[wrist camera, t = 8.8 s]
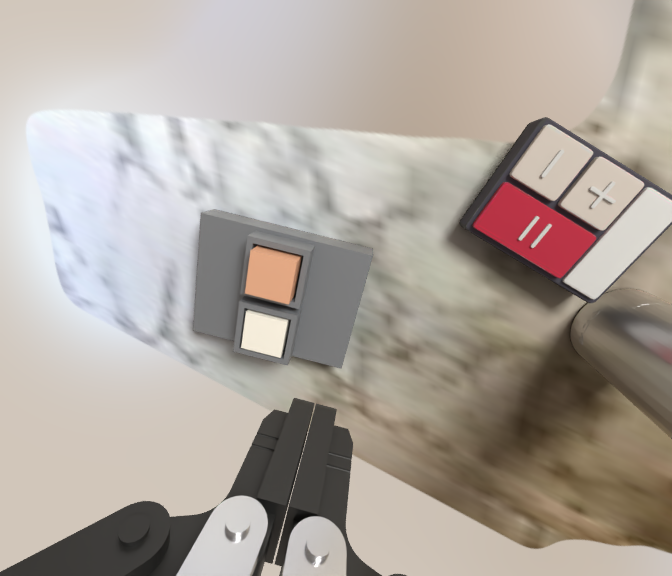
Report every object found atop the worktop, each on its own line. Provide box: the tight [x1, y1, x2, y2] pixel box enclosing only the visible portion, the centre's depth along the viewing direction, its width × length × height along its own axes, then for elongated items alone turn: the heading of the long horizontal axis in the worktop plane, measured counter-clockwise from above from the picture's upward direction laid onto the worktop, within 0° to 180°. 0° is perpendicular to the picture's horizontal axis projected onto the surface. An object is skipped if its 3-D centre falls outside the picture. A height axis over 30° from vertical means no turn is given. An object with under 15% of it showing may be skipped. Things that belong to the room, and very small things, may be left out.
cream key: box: [241, 309, 291, 358], centre depth 35 cm, size 4×4×2 cm
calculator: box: [460, 117, 672, 303], centre depth 31 cm, size 11×4×15 cm
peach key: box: [245, 245, 302, 304], centre depth 31 cm, size 4×4×2 cm
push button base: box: [193, 209, 373, 368], centre depth 35 cm, size 18×14×6 cm
